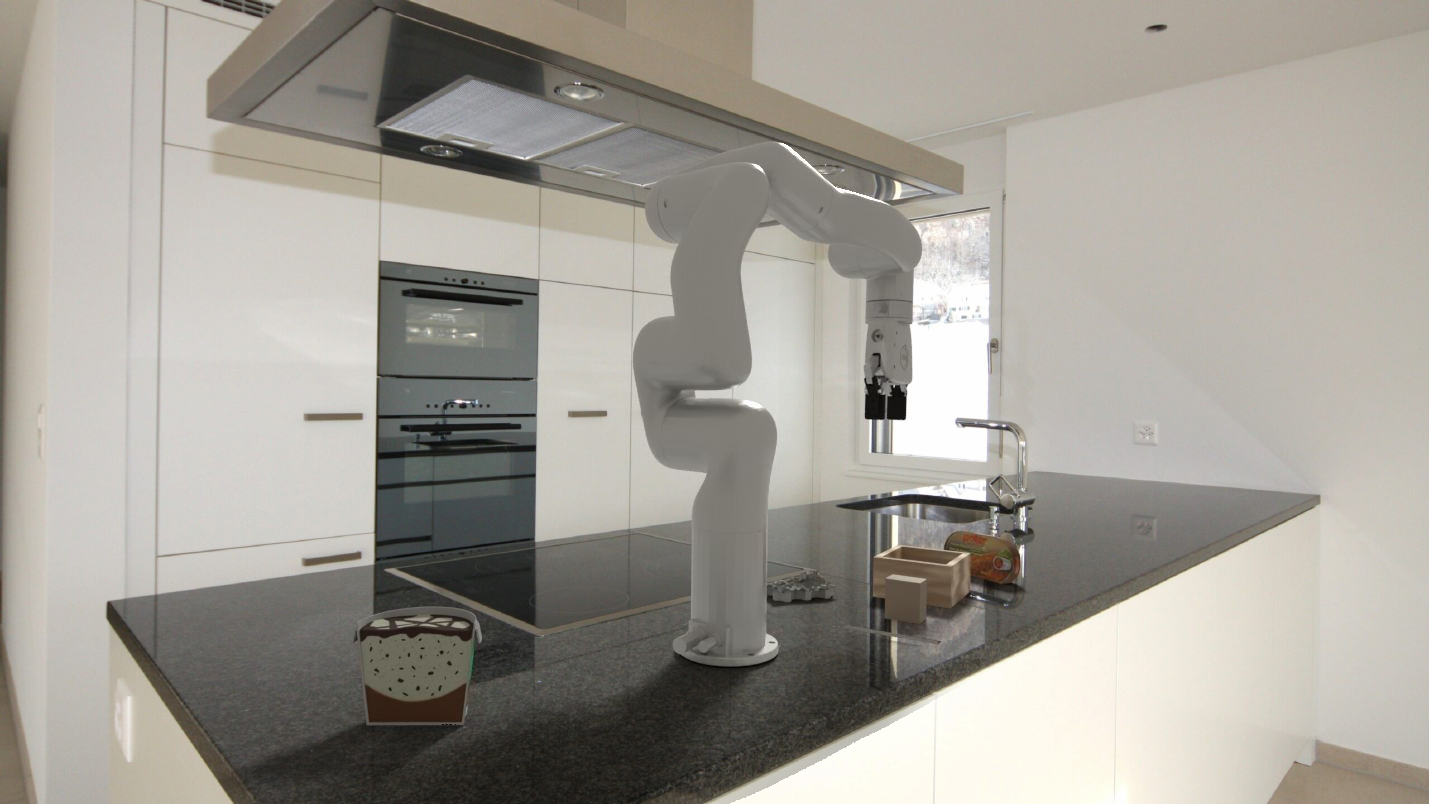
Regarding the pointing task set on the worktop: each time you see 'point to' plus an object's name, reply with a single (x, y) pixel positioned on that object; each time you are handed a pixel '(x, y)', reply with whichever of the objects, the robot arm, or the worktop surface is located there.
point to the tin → (987, 555)
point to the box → (926, 572)
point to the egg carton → (801, 587)
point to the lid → (903, 604)
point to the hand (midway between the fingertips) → (885, 419)
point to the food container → (417, 665)
